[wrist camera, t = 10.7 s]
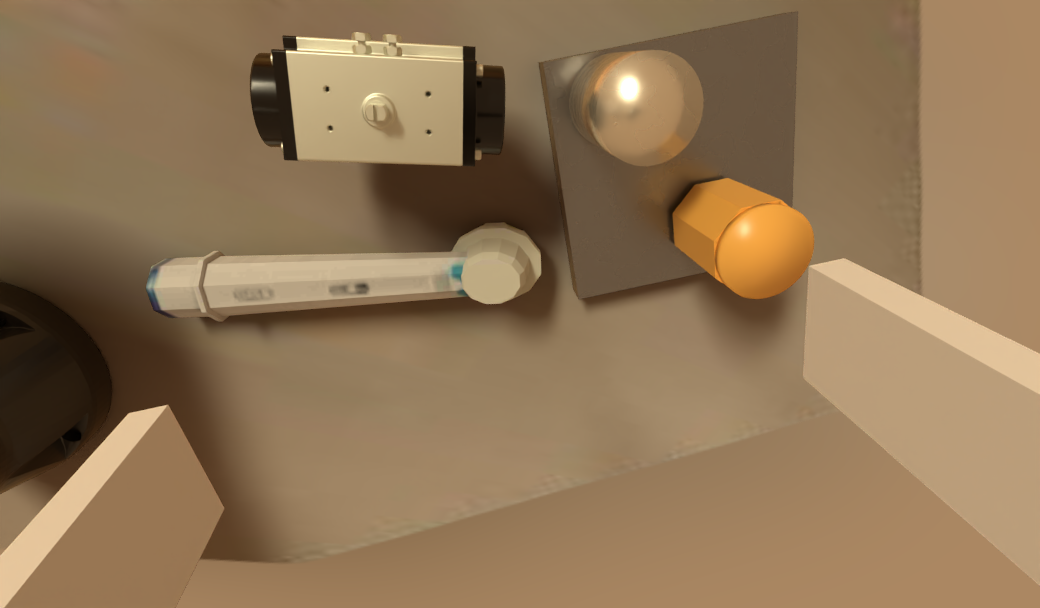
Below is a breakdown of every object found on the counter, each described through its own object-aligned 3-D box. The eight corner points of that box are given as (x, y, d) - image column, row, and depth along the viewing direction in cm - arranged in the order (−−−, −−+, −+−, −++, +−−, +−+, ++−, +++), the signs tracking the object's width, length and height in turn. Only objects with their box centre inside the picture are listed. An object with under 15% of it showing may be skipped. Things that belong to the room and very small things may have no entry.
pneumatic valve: (490, 139, 36) (506, 171, 26) (308, 132, 35) (243, 163, 24) (493, 47, 34) (512, 40, 23) (298, 36, 33) (222, 23, 22)
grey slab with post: (573, 289, 41) (603, 346, 33) (538, 62, 35) (565, 62, 26) (776, 245, 42) (856, 291, 34) (780, 14, 35) (882, -2, 27)
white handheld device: (132, 262, 33) (539, 245, 32) (194, 231, 40) (539, 215, 38) (159, 338, 36) (542, 324, 34) (214, 297, 42) (541, 284, 41)
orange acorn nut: (675, 266, 39) (721, 307, 32) (671, 189, 37) (718, 217, 30) (751, 250, 39) (812, 288, 33) (751, 172, 37) (816, 196, 30)
